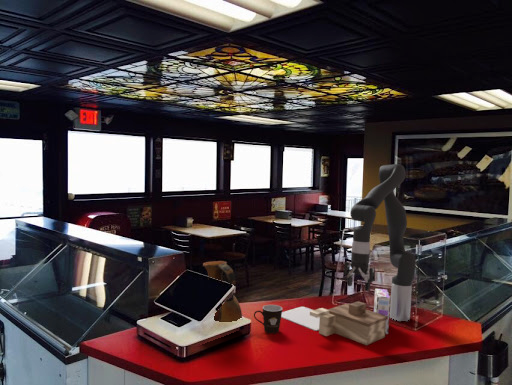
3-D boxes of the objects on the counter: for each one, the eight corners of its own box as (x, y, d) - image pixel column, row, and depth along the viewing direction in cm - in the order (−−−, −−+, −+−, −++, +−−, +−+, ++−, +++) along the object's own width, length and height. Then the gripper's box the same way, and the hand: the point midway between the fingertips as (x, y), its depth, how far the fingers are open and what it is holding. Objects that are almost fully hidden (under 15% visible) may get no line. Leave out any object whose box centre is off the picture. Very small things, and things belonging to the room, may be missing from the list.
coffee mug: (283, 328, 191) (284, 306, 190) (278, 335, 183) (279, 312, 182) (258, 324, 194) (259, 302, 194) (252, 331, 186) (253, 308, 186)
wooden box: (346, 323, 201) (347, 306, 200) (384, 337, 186) (386, 318, 186) (318, 333, 187) (319, 315, 187) (358, 349, 173) (359, 329, 172)
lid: (346, 308, 201) (347, 294, 201) (387, 321, 186) (388, 307, 185) (326, 314, 191) (327, 300, 190) (368, 329, 175) (369, 314, 175)
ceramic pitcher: (215, 319, 199) (218, 254, 197) (251, 330, 187) (254, 262, 185) (185, 331, 183) (187, 261, 181) (221, 344, 171) (224, 270, 169)
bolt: (321, 311, 187) (321, 307, 187) (329, 313, 184) (329, 310, 184) (309, 315, 182) (309, 311, 182) (317, 317, 179) (317, 314, 179)
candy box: (388, 334, 189) (390, 297, 188) (374, 332, 191) (376, 296, 190) (385, 323, 203) (387, 289, 202) (372, 322, 204) (374, 287, 203)
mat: (302, 307, 221) (302, 306, 221) (342, 321, 203) (343, 320, 203) (275, 315, 208) (275, 314, 208) (315, 331, 190) (315, 330, 190)
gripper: (341, 249, 189) (339, 285, 190) (370, 255, 179) (367, 293, 180) (351, 247, 194) (349, 283, 195) (379, 253, 184) (377, 291, 185)
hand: (358, 288), depth 188 cm, fingers open, 8 cm apart
